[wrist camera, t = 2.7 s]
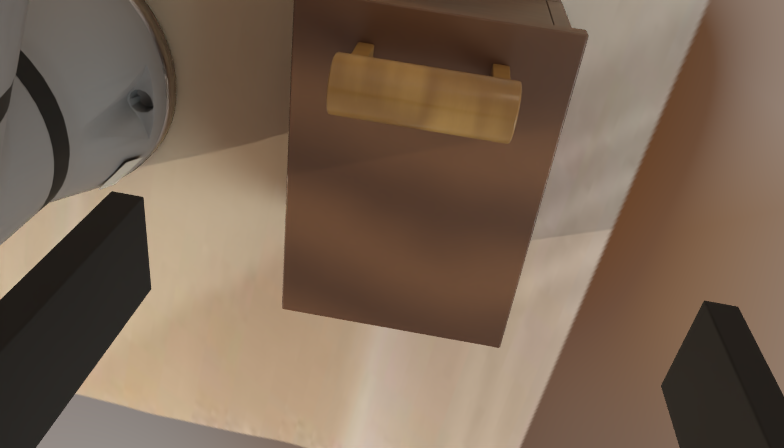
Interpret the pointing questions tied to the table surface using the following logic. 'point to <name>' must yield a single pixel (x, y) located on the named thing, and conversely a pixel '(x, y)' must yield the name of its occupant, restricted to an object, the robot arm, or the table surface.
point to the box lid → (419, 161)
